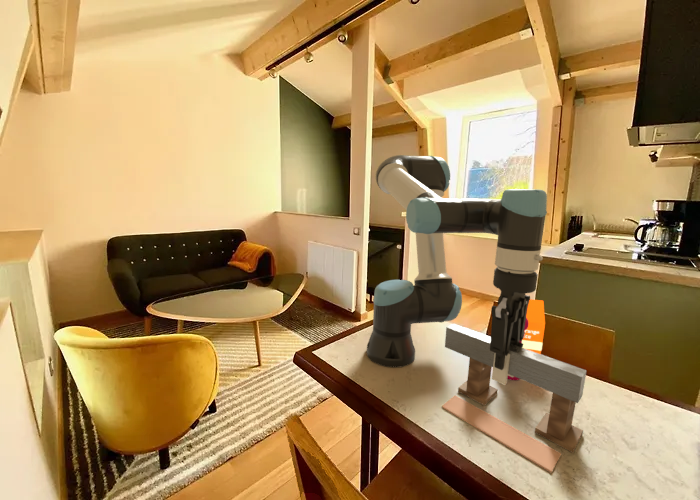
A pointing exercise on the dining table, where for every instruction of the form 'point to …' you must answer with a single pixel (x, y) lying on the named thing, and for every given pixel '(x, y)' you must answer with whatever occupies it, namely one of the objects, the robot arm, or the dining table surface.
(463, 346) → the rail
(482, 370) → the hook stands
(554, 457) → the mat
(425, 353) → the dining table surface
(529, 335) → the orange juice
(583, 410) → the dining table surface
